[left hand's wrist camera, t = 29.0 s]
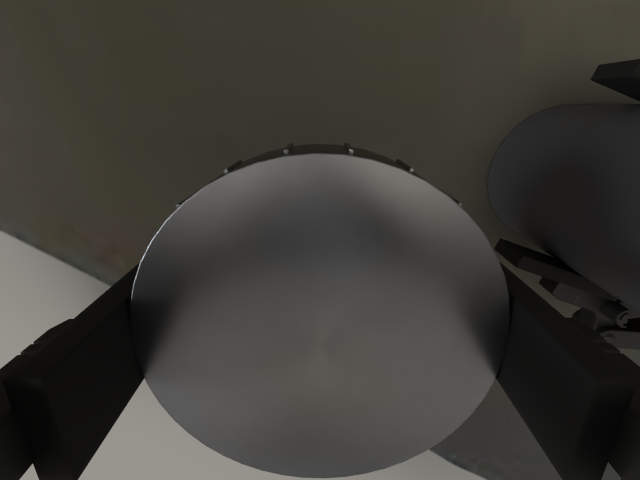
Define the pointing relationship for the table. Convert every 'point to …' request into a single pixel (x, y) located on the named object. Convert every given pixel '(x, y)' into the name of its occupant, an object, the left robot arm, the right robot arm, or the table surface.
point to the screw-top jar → (576, 190)
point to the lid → (320, 313)
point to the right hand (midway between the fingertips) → (556, 169)
